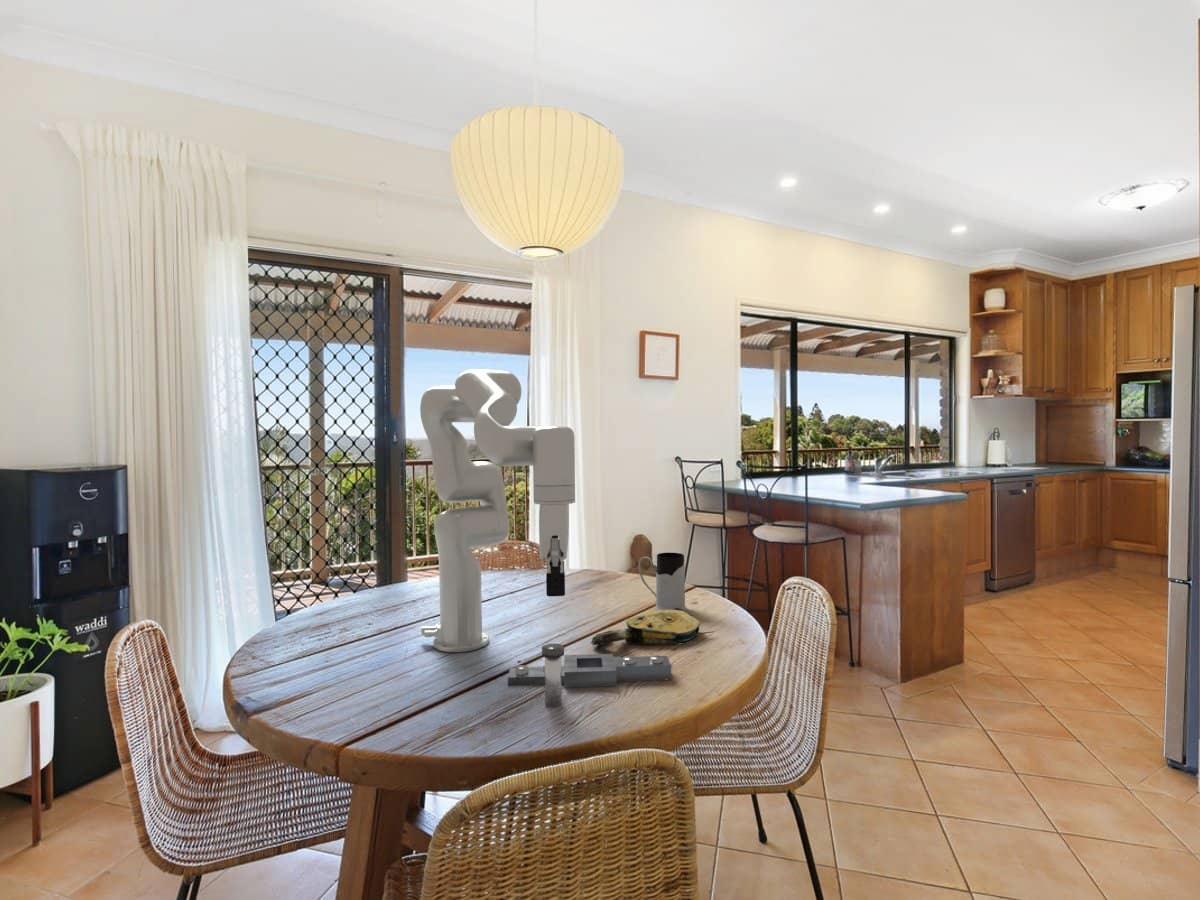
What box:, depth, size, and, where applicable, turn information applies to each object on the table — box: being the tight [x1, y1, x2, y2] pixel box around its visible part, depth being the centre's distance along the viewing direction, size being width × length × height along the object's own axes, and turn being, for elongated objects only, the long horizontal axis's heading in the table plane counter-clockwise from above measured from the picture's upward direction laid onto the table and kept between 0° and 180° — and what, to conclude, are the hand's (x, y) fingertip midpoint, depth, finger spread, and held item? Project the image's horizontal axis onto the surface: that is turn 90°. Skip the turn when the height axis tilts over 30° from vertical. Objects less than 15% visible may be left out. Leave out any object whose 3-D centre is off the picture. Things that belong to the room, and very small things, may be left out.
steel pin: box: [541, 643, 565, 708], centre depth 111 cm, size 4×4×10 cm
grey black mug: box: [638, 552, 688, 611], centre depth 170 cm, size 9×14×15 cm, turn 58°
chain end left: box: [507, 664, 617, 689], centre depth 122 cm, size 21×9×2 cm, turn 93°
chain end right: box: [563, 653, 672, 683], centre depth 123 cm, size 21×9×4 cm, turn 93°
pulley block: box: [590, 608, 716, 646], centre depth 145 cm, size 14×6×30 cm
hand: (555, 588), depth 111 cm, fingers open, 9 cm apart
